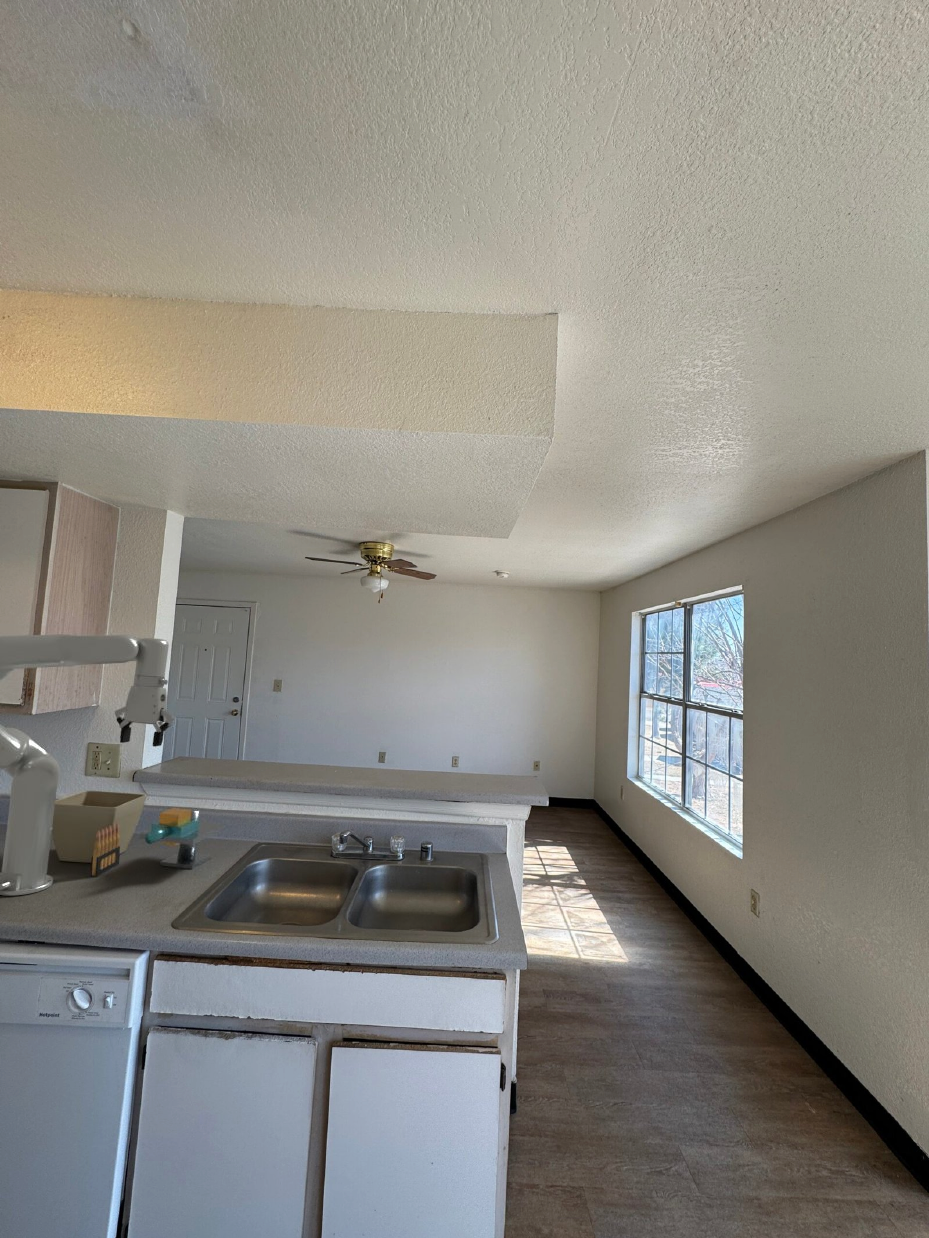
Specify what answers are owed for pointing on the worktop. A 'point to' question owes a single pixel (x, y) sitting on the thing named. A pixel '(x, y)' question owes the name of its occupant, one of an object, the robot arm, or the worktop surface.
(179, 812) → the tan t-shaped peg
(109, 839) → the ammunition clip
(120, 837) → the flower pot
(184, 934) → the worktop surface
